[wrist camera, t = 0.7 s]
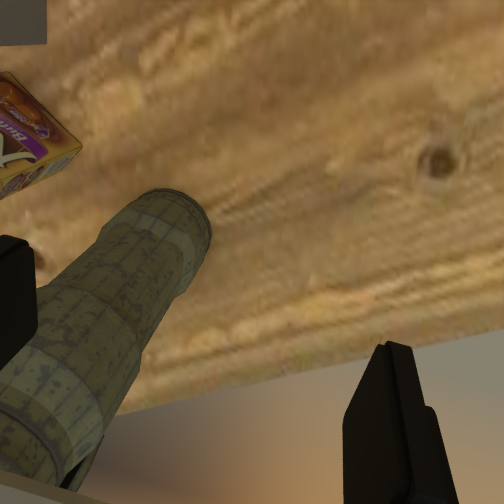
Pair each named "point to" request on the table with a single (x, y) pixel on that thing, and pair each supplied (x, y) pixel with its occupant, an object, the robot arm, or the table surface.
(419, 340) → the table surface
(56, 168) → the candy box
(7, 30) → the riser block
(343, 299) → the table surface
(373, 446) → the robot arm
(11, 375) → the thermos
